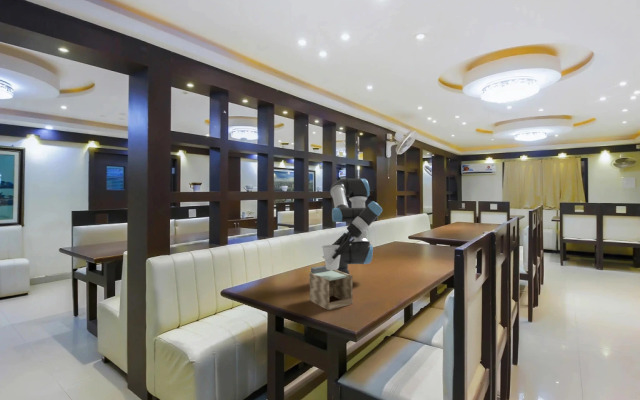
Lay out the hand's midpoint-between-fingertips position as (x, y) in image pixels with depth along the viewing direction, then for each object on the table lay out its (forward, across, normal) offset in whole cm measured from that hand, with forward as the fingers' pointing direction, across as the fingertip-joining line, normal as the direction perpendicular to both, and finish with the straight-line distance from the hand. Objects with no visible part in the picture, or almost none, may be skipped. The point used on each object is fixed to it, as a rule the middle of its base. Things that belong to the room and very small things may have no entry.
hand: (325, 260), depth 154 cm
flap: (+5, +4, -7) cm, 9 cm away
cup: (+1, 0, -5) cm, 5 cm away
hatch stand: (+13, +2, -17) cm, 21 cm away
